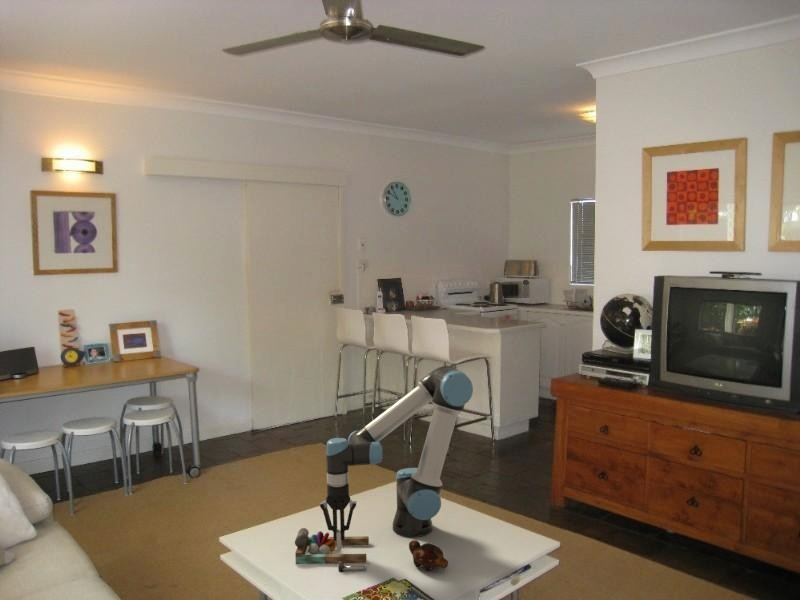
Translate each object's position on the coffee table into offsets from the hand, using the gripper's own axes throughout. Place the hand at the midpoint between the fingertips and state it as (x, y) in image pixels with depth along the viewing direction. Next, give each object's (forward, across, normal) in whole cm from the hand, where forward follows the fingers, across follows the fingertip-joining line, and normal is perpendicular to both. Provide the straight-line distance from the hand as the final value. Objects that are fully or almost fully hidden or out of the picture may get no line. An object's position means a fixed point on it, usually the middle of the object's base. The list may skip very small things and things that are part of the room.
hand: (339, 548), depth 235 cm
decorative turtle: (+2, -31, +11) cm, 33 cm away
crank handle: (+2, -6, +13) cm, 14 cm away
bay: (+2, +2, 0) cm, 3 cm away
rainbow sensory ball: (+2, +6, -1) cm, 7 cm away
